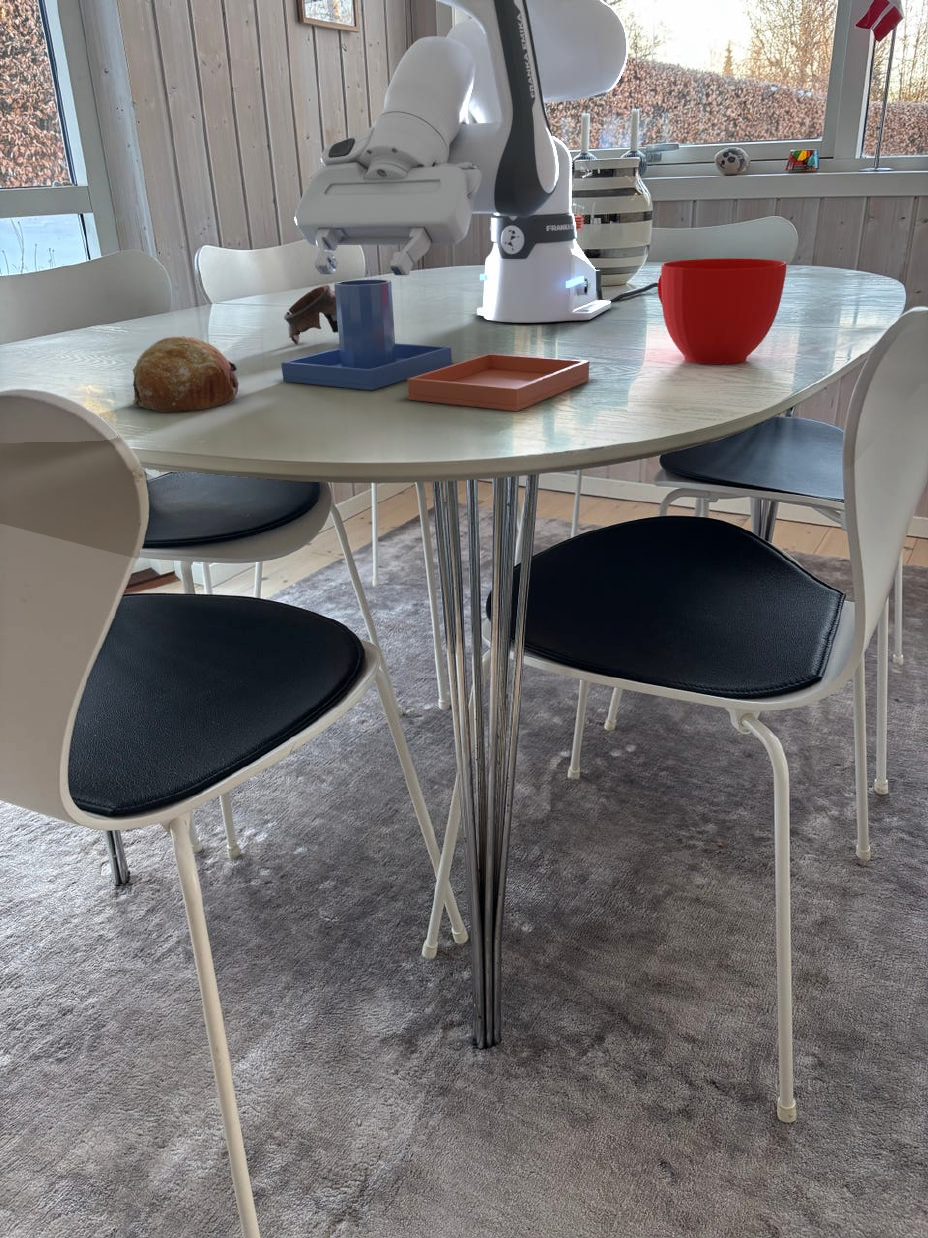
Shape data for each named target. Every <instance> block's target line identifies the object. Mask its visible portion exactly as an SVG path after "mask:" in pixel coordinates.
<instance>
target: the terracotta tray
mask: <svg viewBox="0 0 928 1238" xmlns="http://www.w3.org/2000/svg"><path fill="white" fill-rule="evenodd" d="M589 378H590V360H580V359H567V358H554V357H553V358H552V357H539V356H529V355H528V356H526V355H513V354H502V353H501V354H500V353H499V354H498V353H485V354H482V355H479V356H476V357H472V358H469V359H466V360H463V361H460V362H457V363H452V365H450V366H447V367H444V368H441V369H437V370H434V371H431V372H428V373H425V374H421V375H418V376H415V377H412V378H409V379H407V393H408V400H409V401H417V402H426V403H435V404H446V405H455V406H463V407H471V408H472V407H474V408H481V409H483V408H484V409H490V410H491V409H492V410H502V411H510V412H519V411H521V410H524V409H525V408H526V409H527V408H528V407H530V406H533V405H535V404H538V403H540V402H542V401H545V400H547V399H549V398H551V397H555V396H556V395H558V394H561V393H563V392H566V391H567V390H568V391H569V390H570V389H573V388H575V387H577V386H579V385H582V384H585V383H587V382H589Z"/></svg>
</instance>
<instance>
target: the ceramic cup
mask: <svg viewBox="0 0 928 1238" xmlns="http://www.w3.org/2000/svg"><path fill="white" fill-rule="evenodd" d="M660 271H661V272H660V276H659V278H658V281H657V282H658V287H657V294H658V298H659V301H660V304H661V307H662V315H663V319H664V323H665V326H666V329H667V333H668V335H669V336H670V339H671V341H672V342H673V344H674V345H675V346H676V348H677V350H678V351H679V352H680V353H681V354H682V355H683V357H684V359H685V360H686V361H688V362H691V363H697V364H705V365H706V364H707V365H727V364H728V365H729V364H739V363H742V362H745V361H747V358H748V357H749V356H750V355H751V354H752V353H753V352H754V351H755V350H756V349H757V348H758V347H759V346H760V345H761V344H762V342H763V341H764V339H765V338H766V336H767V335H768V333H769V332H770V330H771V328H772V326H773V324H774V322H775V320H776V317H777V314H778V311H779V308H780V304H781V301H782V300H781V299H782V297H783V291H784V286H785V281H786V274H787V263H786V262H785V261H781V260H775V259H763V258H699V259H684V260H674V261H668V262H663V263H662V264H661V269H660Z"/></svg>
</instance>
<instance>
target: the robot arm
mask: <svg viewBox="0 0 928 1238" xmlns="http://www.w3.org/2000/svg"><path fill="white" fill-rule="evenodd" d="M435 1H436V2H438V3H442V4H444V5H446V6H449V7H452V8H454V9H456V10H458V11H461V12H462V13H464V14H466V15H467V16H469V17H470V18H469V19H466V20H463V21H462V22H459V23H456V24H454V25H453V26H452V27H451V28H450V30H449V32H448V33H447V35H446V36H442V35H441V36H440V35H433V36H424V37H421V38H419V39H417V40H416V41H414V43H412V44H411V45H410V47H409V48H408V49H407V50H406V51H405V53H404V55H403V56H402V58H401V59H400V62H399V63H398V65H397V67H396V69H395V71H394V73H393V76H392V78H391V80H390V82H389V85H388V87H387V90H386V92H385V96H384V100H383V109H382V111H381V112H380V113H378V115H377V117H376V118H375V119H374V122H373V124H372V126H370V127H368V128H365V129H363V130H362V131H360V132H358V133H356V134H355V135H352V136H350V137H348V138H345V139H343V140H339V141H337V142H334V143H331V144H328V145H326V146H325V147H324V148H323V150H322V152H321V155H320V161H321V162H322V165H323V166H322V167H320V168H319V169H317V170H316V171H315V172H314V174H313V175H312V176H311V177H310V179H309V181H308V183H307V184H306V187H305V189H304V191H303V193H302V196H301V198H300V201H299V202H298V204H297V206H296V207H297V208H296V209H295V214H294V221H295V225H296V227H297V229H298V231H299V232H300V233H301V235H302V236H303V237H304V239H305V240H306V242H307V243H308V244H309V245H311V246H317V250H318V254H317V256H316V260H315V262H314V267H315V269H316V270H317V271H318V273H319V274H320V275H334V274H335V272H336V269H337V268H338V264H339V262H338V260H337V258H335V257H334V255H333V253H332V252H334V251H337V248H338V246H404V247H403V248H402V249H401V251H394V252H393V254H392V259H391V260H390V263H389V269H390V270H391V271H392V272H393V275H394V276H401V277H403V276H407V277H408V276H409V275H410V274H411V271H412V268H413V266H414V264H416V263H417V262H418V261H419V260H420V259H421V258H422V257H423V256H424V255H426V253H428V252H429V250H430V247H431V246H455V245H458V244H459V243H461V242H462V240H463V239H465V238H466V237H467V235H468V231H469V229H470V224H471V221H472V215H474V214H475V215H476V214H477V215H478V214H480V215H481V214H492V216H491V217H490V226H489V231H490V241H491V243H493V246H492V248H491V251H490V253H489V254H488V255H487V257H486V258H485V263H484V273H481V274H479V281H483V296H482V297H483V298H482V306H479V307H477V310H476V315H477V316H481V317H483V318H484V320H487V321H493V322H499V323H500V322H501V323H553V322H565V321H567V322H568V321H588V320H591V319H593V318H595V317H597V316H598V315H600V314H602V313H604V312H606V311H608V310H609V309H611V308H612V304H611V303H614V302H618V301H621V300H622V299H624V298H627V297H631V296H634V295H637V294H641V293H645V292H647V291H649V290H650V291H651V290H652V289H655V288H658V281H657V282H652V283H650V284H648V285H645V286H643V287H639V288H634V289H632V290H627V291H624V292H621V293H619V294H617V295H616V296H614V297H612V298H610V299H606V298H605V297H604V296H603V290H602V269H595V266H593V265H592V263H591V262H590V260H589V259H588V257H587V256H586V255H585V254H584V252H583V251H582V249H581V248H580V246H579V245H578V243H577V241H576V239H577V238H578V234H577V231H581V230H583V227H584V223H585V222H584V218H583V215H582V214H578V215H574V213H573V212H572V173H573V172H572V171H573V169H572V167H573V166H572V165H573V163H572V157H571V154H570V152H569V149H568V148H567V146H566V145H565V144H564V143H563V142H562V141H561V140H560V139H558V138H556V137H555V136H554V135H553V133H552V128H551V125H550V122H549V118H548V114H547V111H546V105H545V104H546V103H547V104H548V103H557V102H558V103H560V102H561V103H562V102H573V101H574V102H575V101H576V102H577V101H581V100H584V99H588V98H592V97H595V96H598V95H601V94H603V93H607V92H609V91H611V90H612V89H613V88H614V87H615V86H616V84H617V83H618V82H619V80H620V79H621V76H622V74H623V72H624V69H625V67H626V63H627V59H628V52H629V43H628V42H629V41H628V36H627V31H626V28H625V25H624V22H623V21H622V19H621V17H620V15H619V14H618V12H617V11H616V10H615V9H614V8H613V7H611V6H610V5H609V4H607V3H606V2H604V1H603V0H435ZM468 112H469V113H470V114H471V115H472V117H473V119H474V120H475V121H476V122H475V123H470V122H469V118H468Z"/></svg>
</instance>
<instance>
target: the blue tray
mask: <svg viewBox="0 0 928 1238" xmlns="http://www.w3.org/2000/svg"><path fill="white" fill-rule="evenodd" d="M395 349H396V362H394V363H390V364H387V365H383V366H380V367H376V368H373V369H359V368H348V367H341V357H340V347H339V348H334V349H330V350H326V351H322V352H319V353H314V354H310V355H305V356H302V357H298V358H294V359H290V360H286V361H282V362H281V363H280V365H281V372H282V373H281V374H282V382H287V383H295V384H297V383H298V384H305V385H306V384H307V385H316V386H324V387H325V386H326V387H337V388H343V389H344V388H345V389H355V390H362V391H374V390H377V389H380V388H384V387H387V386H390V385H394V384H396V383H400V382H403V381H407V380H408V379H409V378H412V377H415V376H418V375H421V374H425V373H428V372H431V371H434V370H437V369H441V368H444V367H447V366H450V365H453V362H452V361H453V360H452V347H451V346H439V345H425V344H411V343H399V342H397V343H396V342H395Z"/></svg>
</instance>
